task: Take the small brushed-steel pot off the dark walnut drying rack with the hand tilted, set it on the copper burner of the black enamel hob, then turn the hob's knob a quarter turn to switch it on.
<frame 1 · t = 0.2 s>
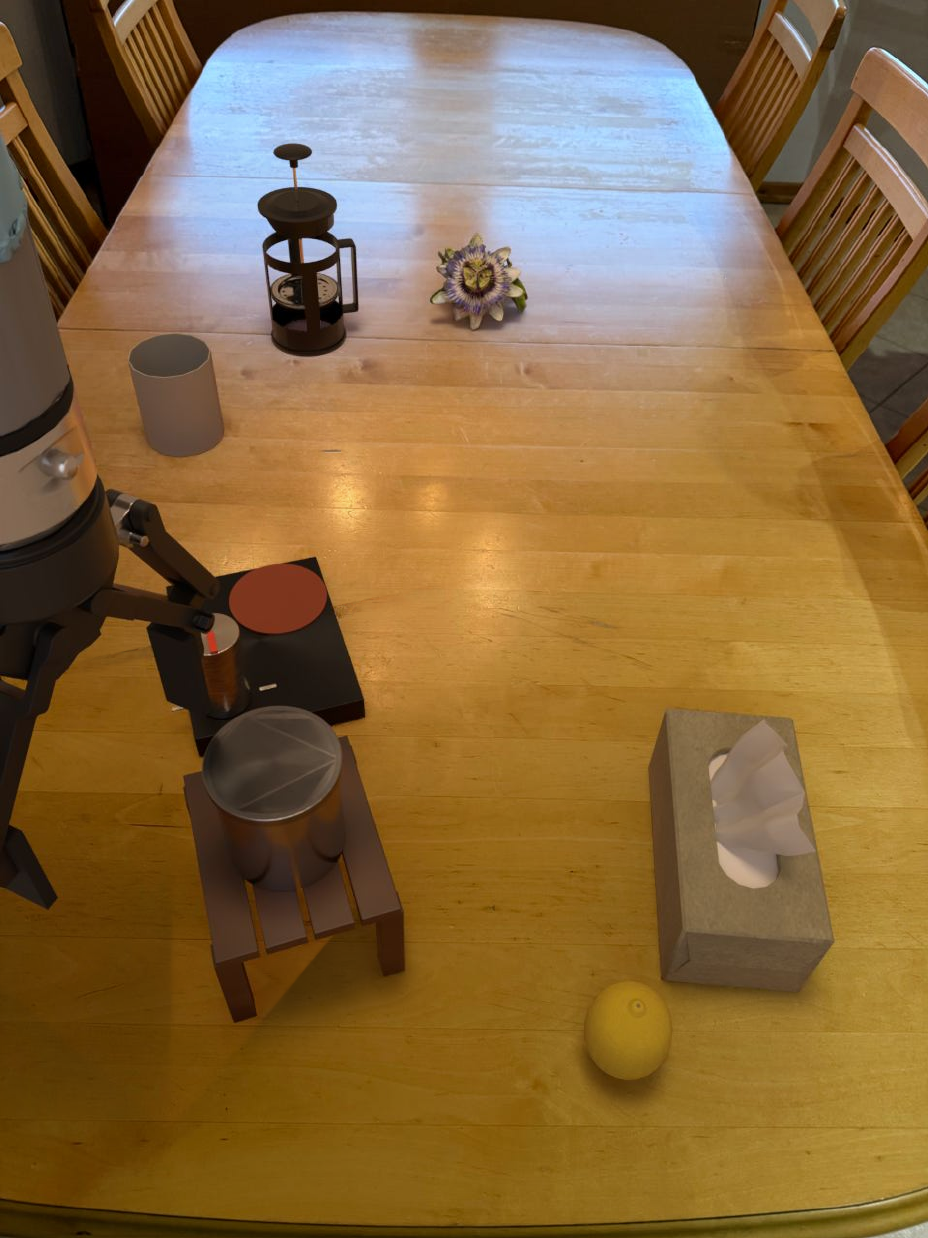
hand: (117, 792, 55), 20 cm above the table, tool pointing down, fingers open, 13 cm apart
burner: (278, 598, 90), resting on hob
cup: (186, 434, 110), on the table
passion flower: (477, 312, 130), on the table
hob: (263, 658, 88), on the table
drying rack: (300, 909, 72), on the table
pot: (287, 838, 65), point 10 cm above the table, touching drying rack
lemon: (617, 1053, 66), on the table
hob knob: (217, 665, 79), point 7 cm above the table, hinge at 0.0°
french press: (313, 336, 125), on the table
tissue box: (717, 871, 76), on the table
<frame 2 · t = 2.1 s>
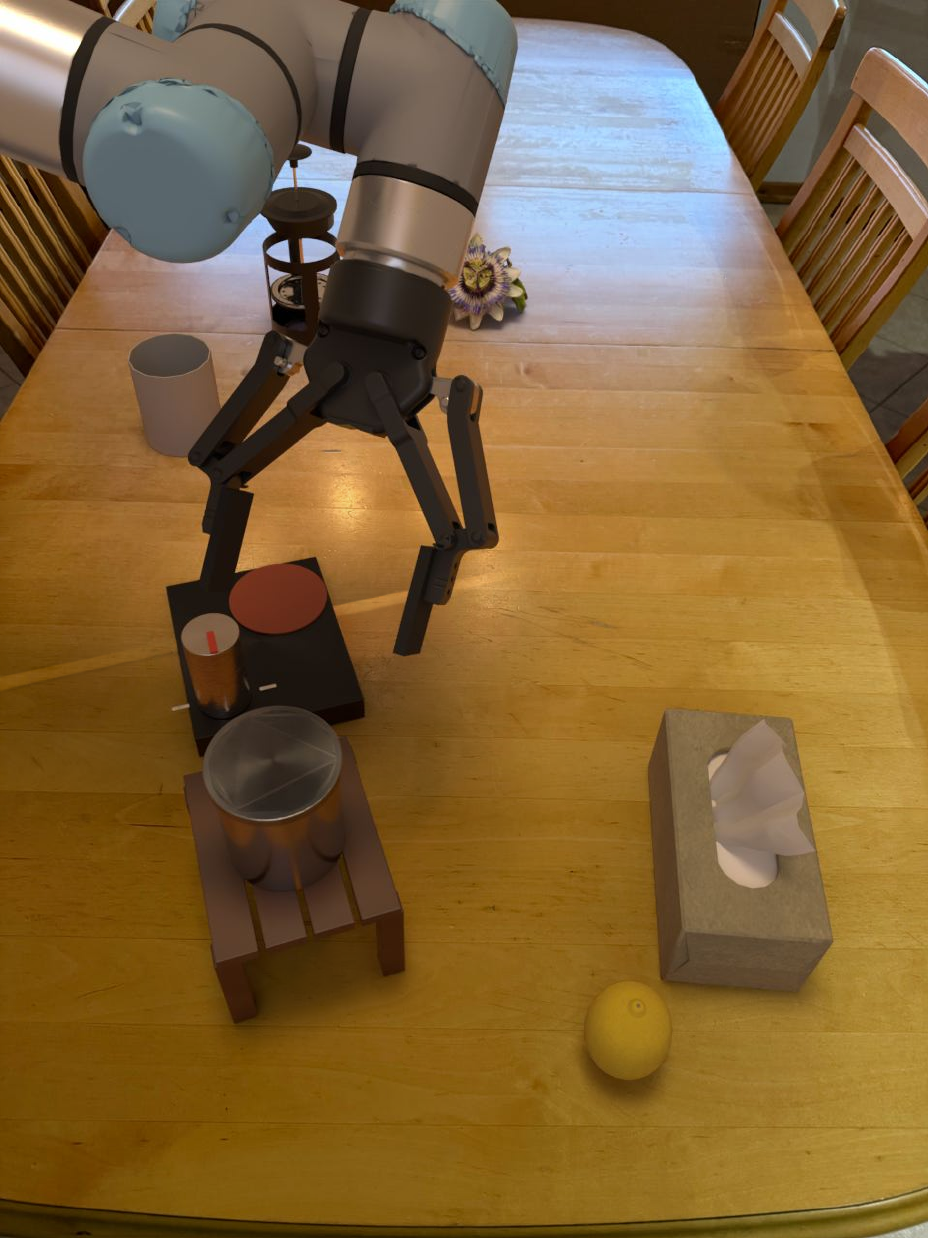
hand: (307, 621, 61), 23 cm above the table, tool tilted 40°, fingers open, 13 cm apart
nothing on the table moved.
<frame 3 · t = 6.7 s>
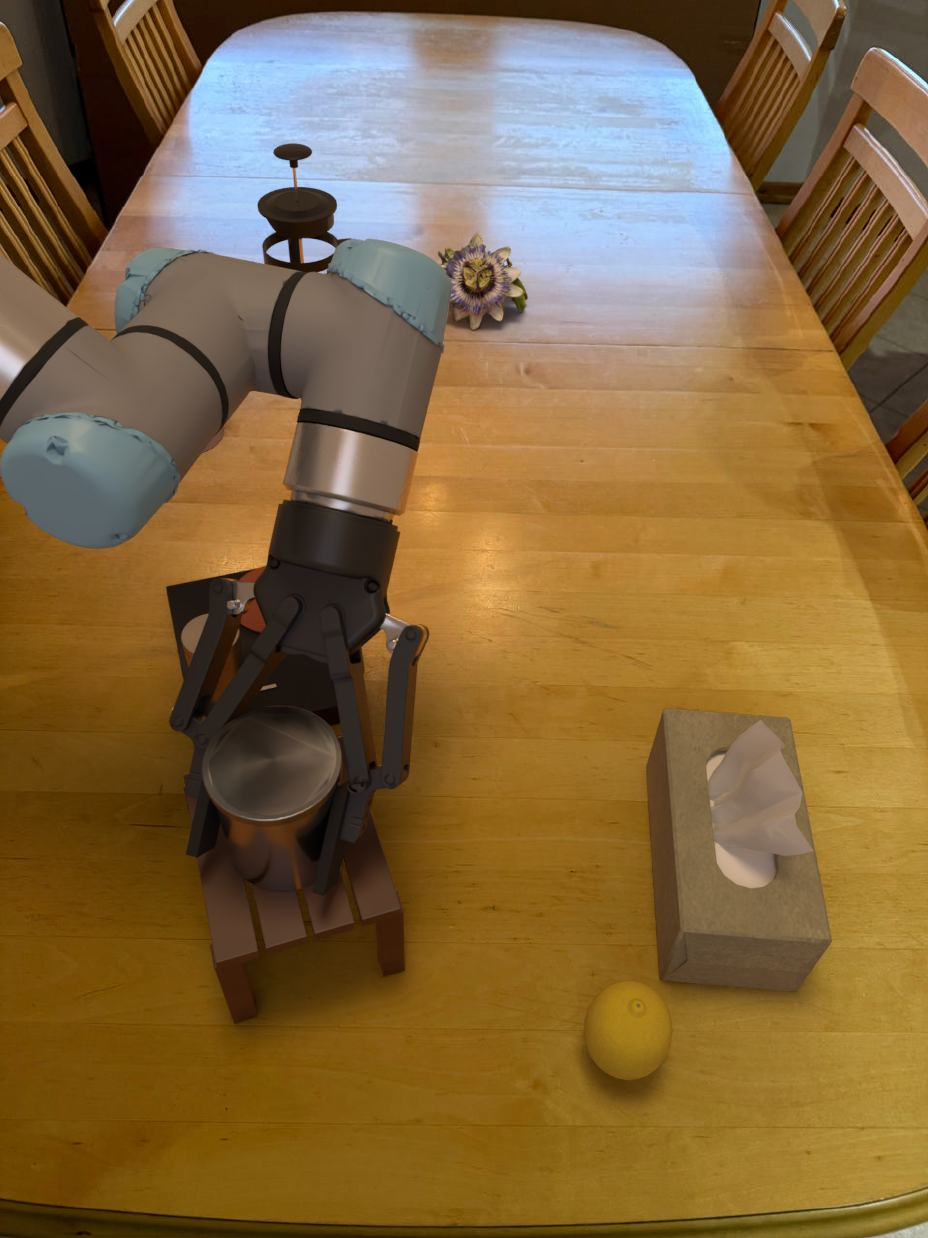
hand: (262, 868, 61), 12 cm above the table, tool tilted 45°, fingers closed on pot, 8 cm apart
pot: (287, 838, 65), point 10 cm above the table, touching drying rack, gripper
everything else where it was.
when the fingers open (5 cm above the table, at t = 18.6 s): pot stays where it is, resting on burner.
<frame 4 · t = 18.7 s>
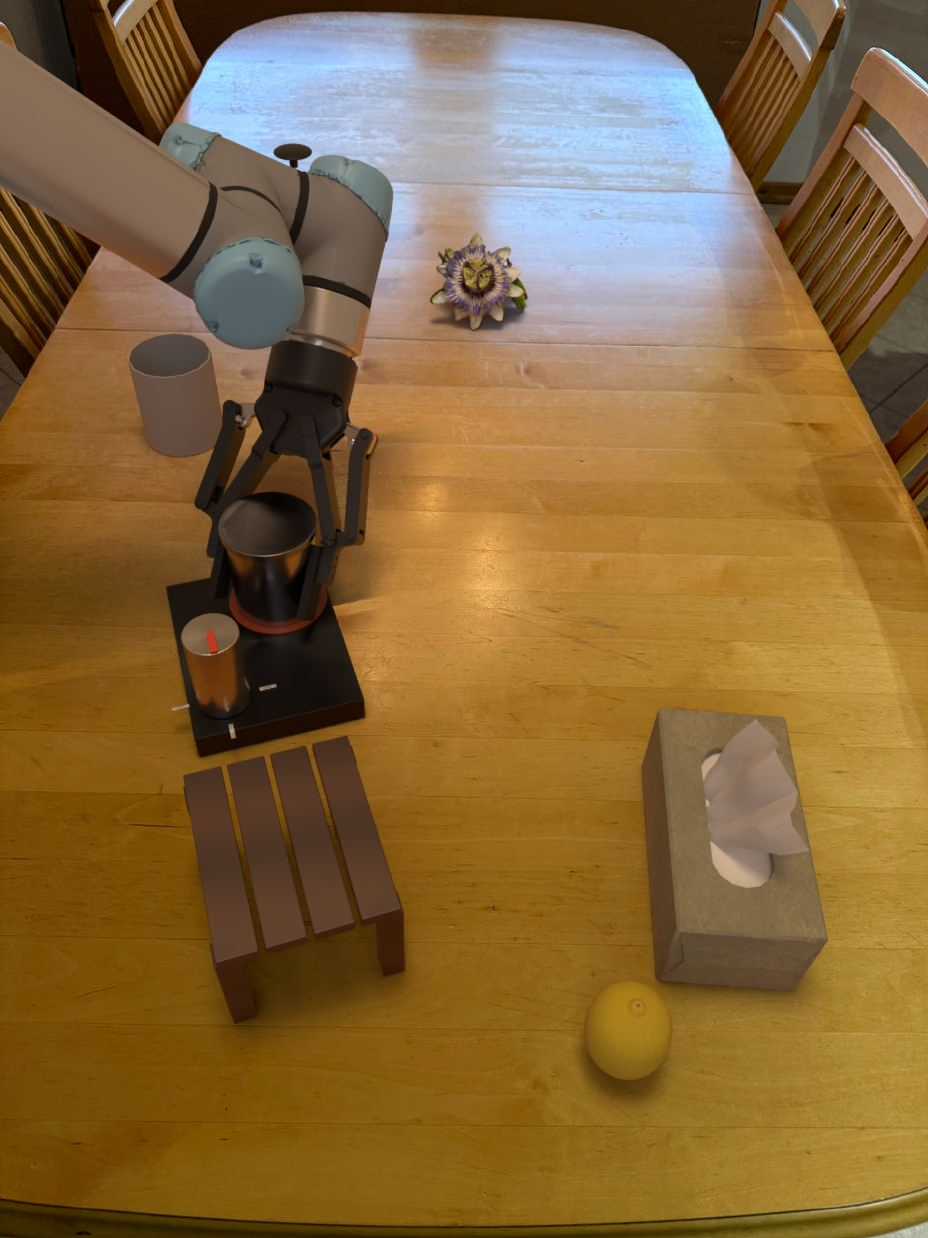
hand: (260, 608, 86), 5 cm above the table, tool tilted 45°, fingers open, 8 cm apart
pot: (278, 596, 90), point 3 cm above the table, touching burner
everything else where it was.
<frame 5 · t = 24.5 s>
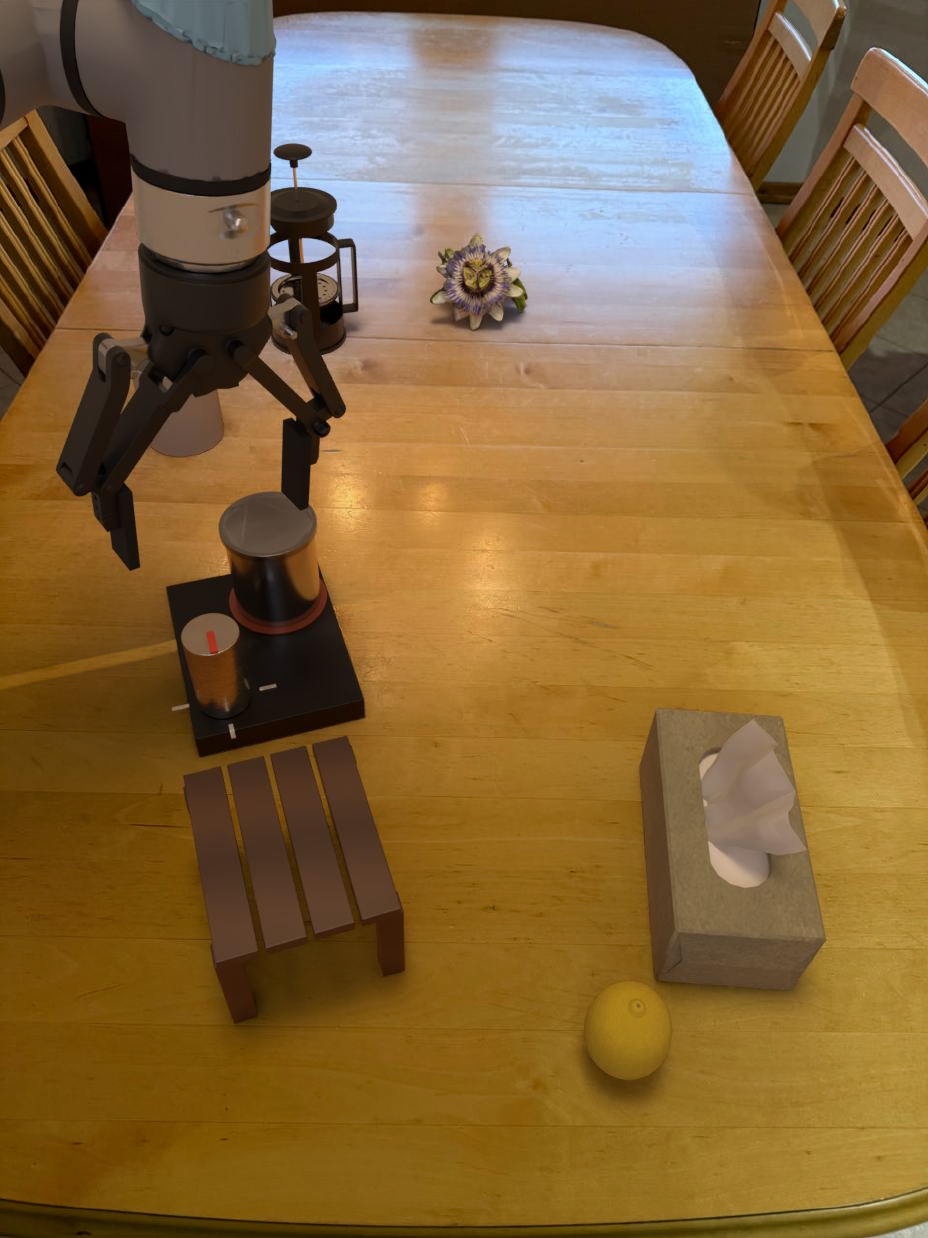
hand: (214, 527, 72), 19 cm above the table, tool pointing down, fingers open, 13 cm apart
nothing on the table moved.
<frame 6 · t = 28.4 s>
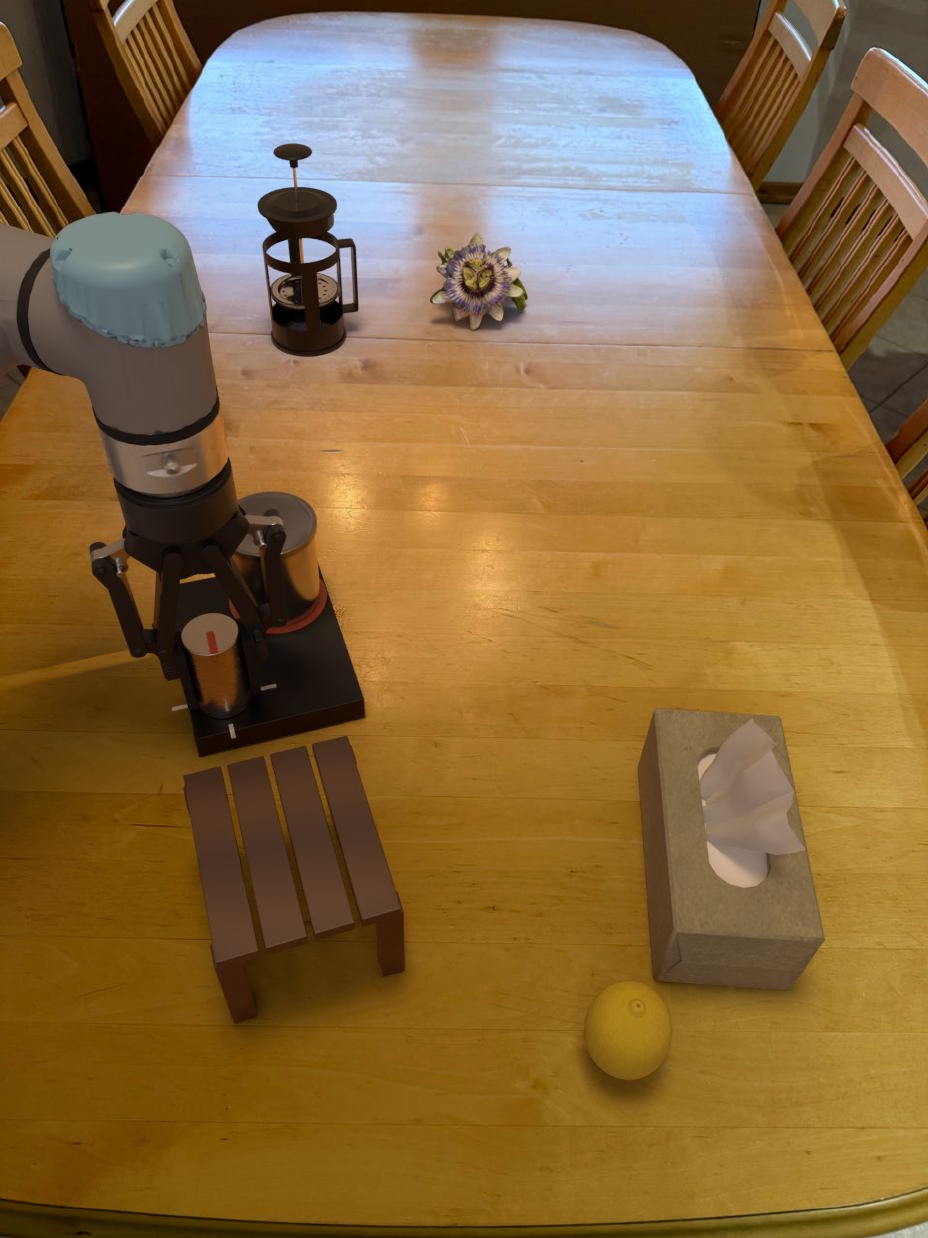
hand: (222, 689, 81), 4 cm above the table, tool pointing down, fingers closed on hob knob, 4 cm apart
hob knob: (217, 665, 79), point 7 cm above the table, hinge at 0.0°, touching gripper
everything else where it was.
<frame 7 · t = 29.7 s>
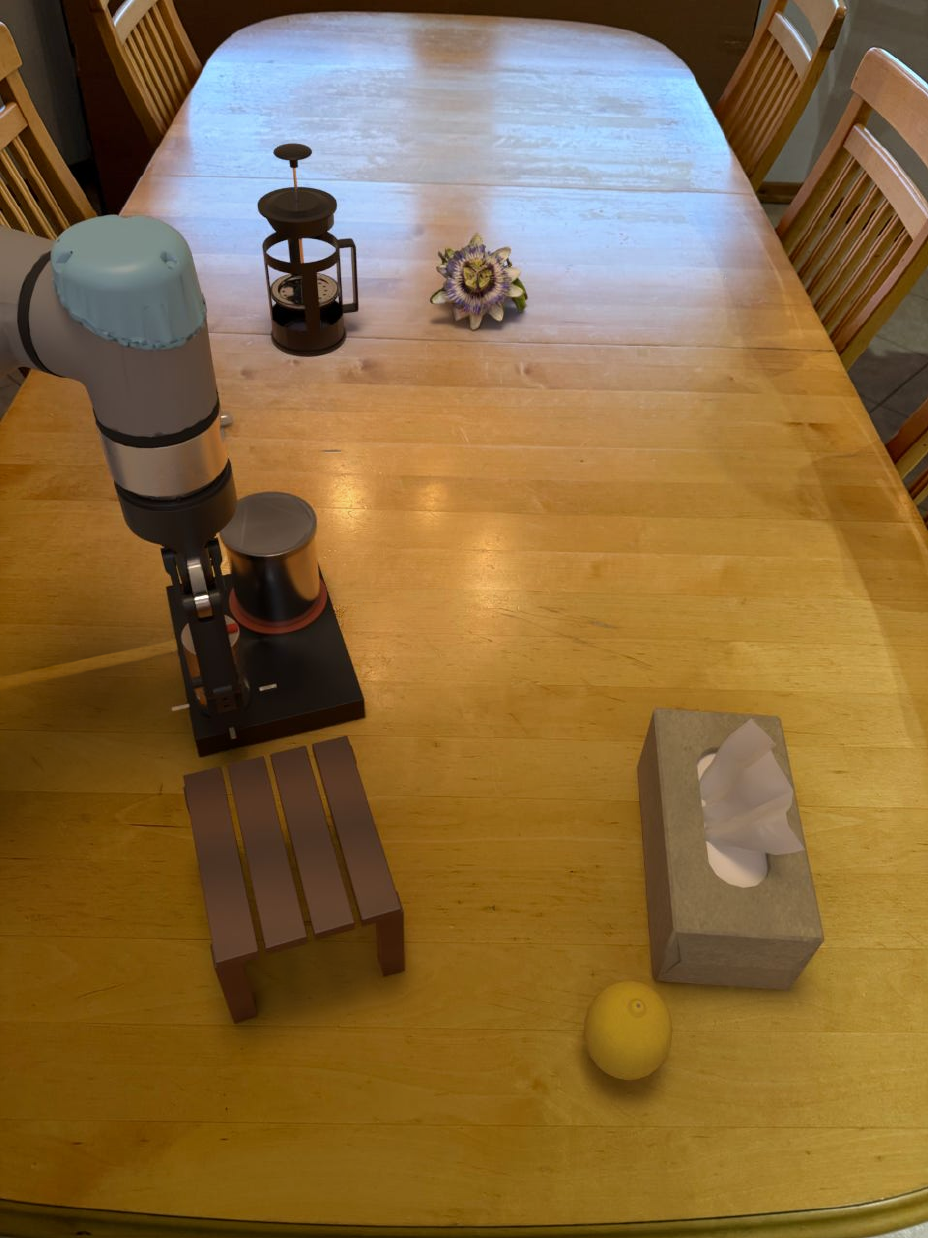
hand: (222, 687, 81), 4 cm above the table, tool pointing down, fingers open, 7 cm apart
hob knob: (217, 665, 79), point 7 cm above the table, hinge at 89.9°
everything else where it was.
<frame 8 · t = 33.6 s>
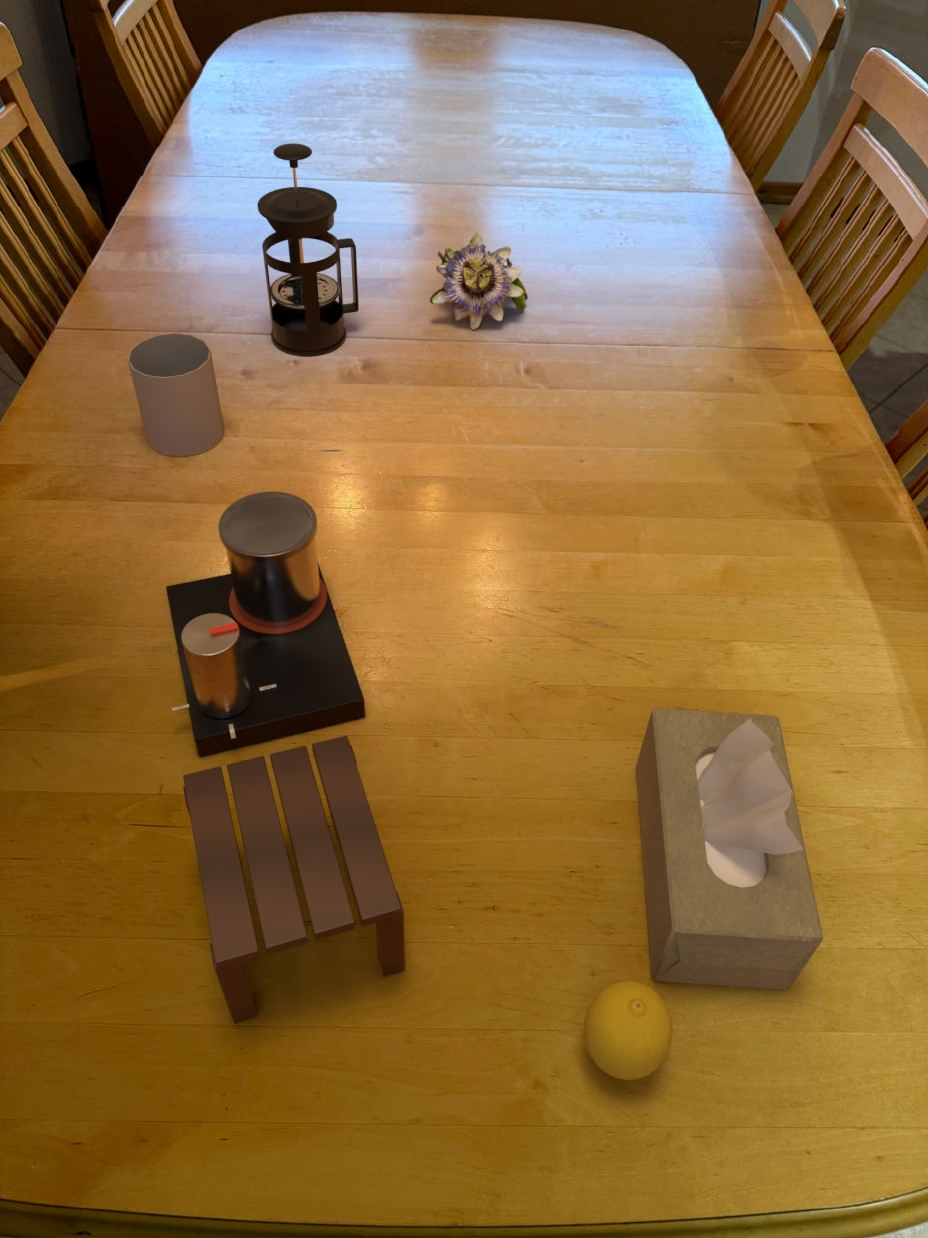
nothing on the table moved.
at the end: pot 0.1 cm off-centre on the burner, point 0.2 cm above the burner's base; pot tilted 0°; hob knob at +90° (first picture: +0°) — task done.
